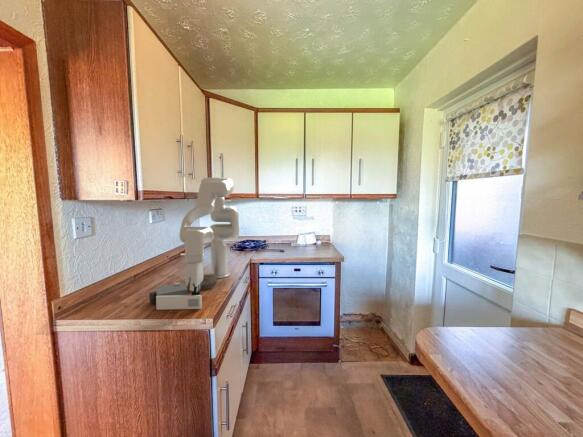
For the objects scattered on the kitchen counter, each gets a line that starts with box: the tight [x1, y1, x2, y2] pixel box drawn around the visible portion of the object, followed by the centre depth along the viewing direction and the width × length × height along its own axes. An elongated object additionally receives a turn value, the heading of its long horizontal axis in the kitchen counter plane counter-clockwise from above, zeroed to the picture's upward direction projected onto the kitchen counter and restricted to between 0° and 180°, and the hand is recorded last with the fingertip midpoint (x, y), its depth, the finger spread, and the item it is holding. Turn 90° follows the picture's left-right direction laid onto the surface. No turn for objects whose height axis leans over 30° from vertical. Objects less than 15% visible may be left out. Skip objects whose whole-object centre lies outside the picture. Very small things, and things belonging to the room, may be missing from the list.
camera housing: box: [148, 281, 189, 304], centre depth 108 cm, size 12×14×7 cm
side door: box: [155, 294, 203, 311], centre depth 100 cm, size 1×18×6 cm, turn 93°
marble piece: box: [183, 274, 218, 292], centre depth 129 cm, size 17×15×4 cm
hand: (195, 300), depth 103 cm, fingers closed
